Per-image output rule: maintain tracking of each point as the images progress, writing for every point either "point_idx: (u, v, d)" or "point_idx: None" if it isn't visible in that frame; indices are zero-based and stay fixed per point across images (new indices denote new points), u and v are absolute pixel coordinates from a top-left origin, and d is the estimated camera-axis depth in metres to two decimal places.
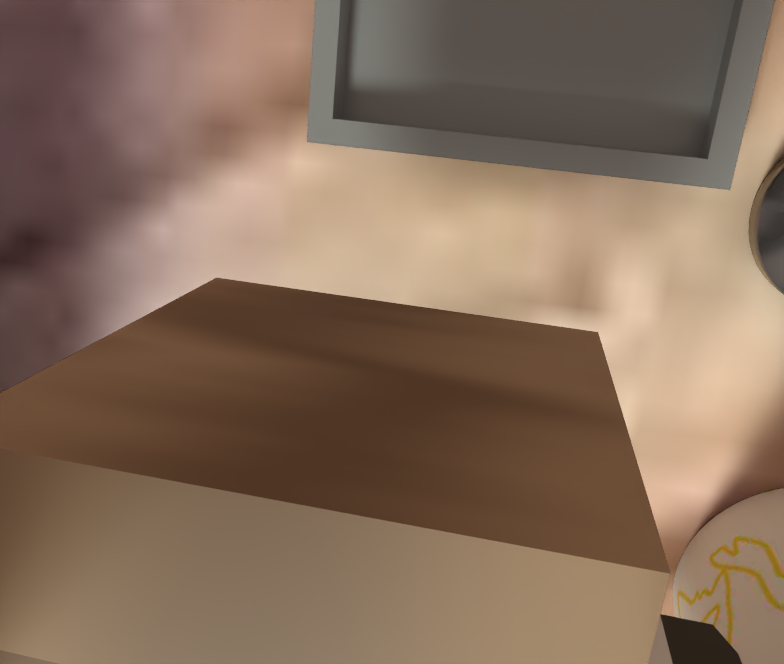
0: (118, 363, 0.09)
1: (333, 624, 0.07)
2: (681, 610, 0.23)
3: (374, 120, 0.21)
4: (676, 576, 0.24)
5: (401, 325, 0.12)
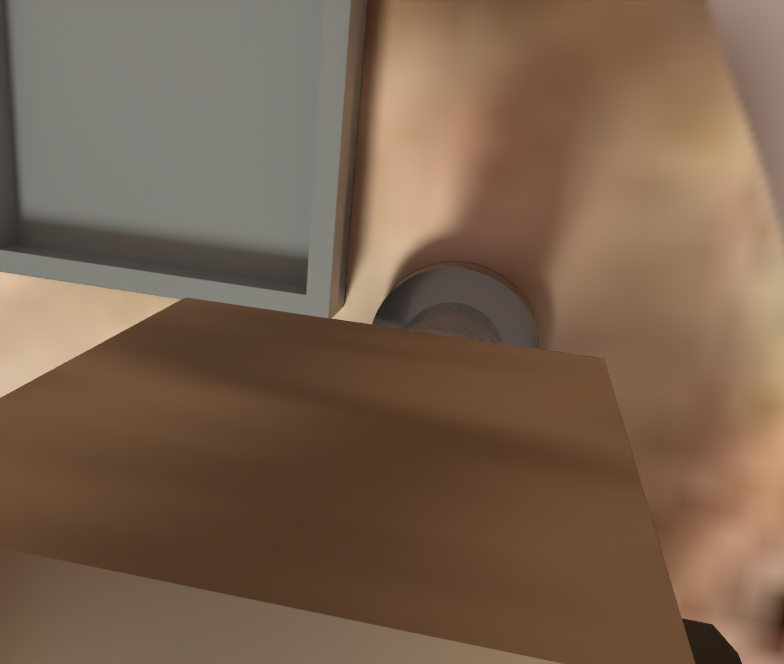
0: (56, 405, 0.08)
1: None
2: None
3: (45, 246, 0.23)
4: None
5: (386, 353, 0.11)
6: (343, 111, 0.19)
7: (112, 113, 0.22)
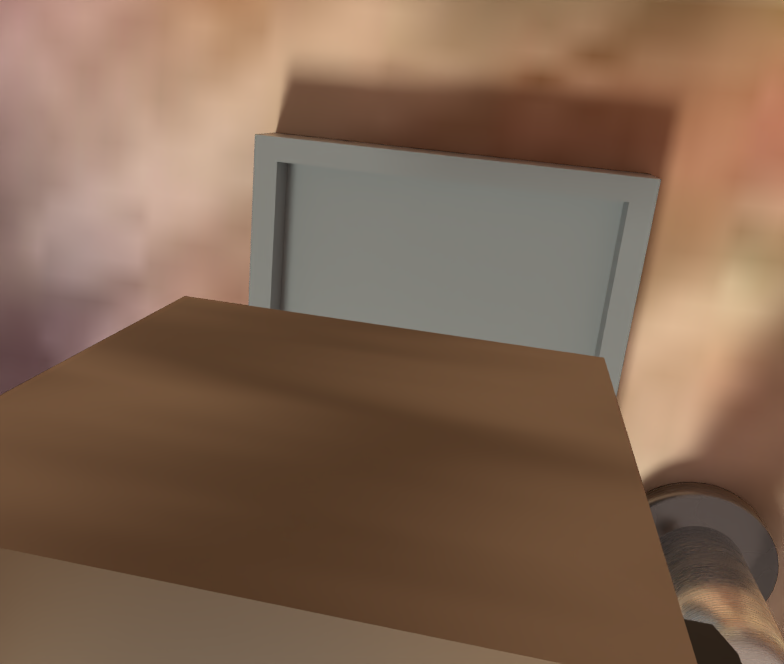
0: (55, 403, 0.08)
1: None
2: None
3: None
4: None
5: (386, 351, 0.11)
6: None
7: None
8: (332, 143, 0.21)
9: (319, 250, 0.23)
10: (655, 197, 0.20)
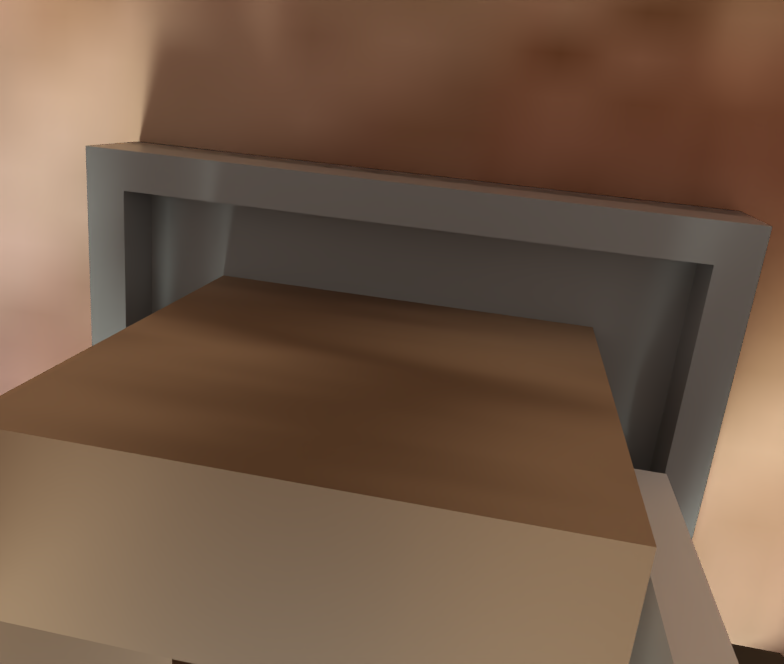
0: (133, 355, 0.10)
1: (341, 598, 0.07)
2: None
3: None
4: None
5: (402, 320, 0.12)
6: (691, 537, 0.13)
7: None
8: (211, 161, 0.12)
9: None
10: (761, 257, 0.11)
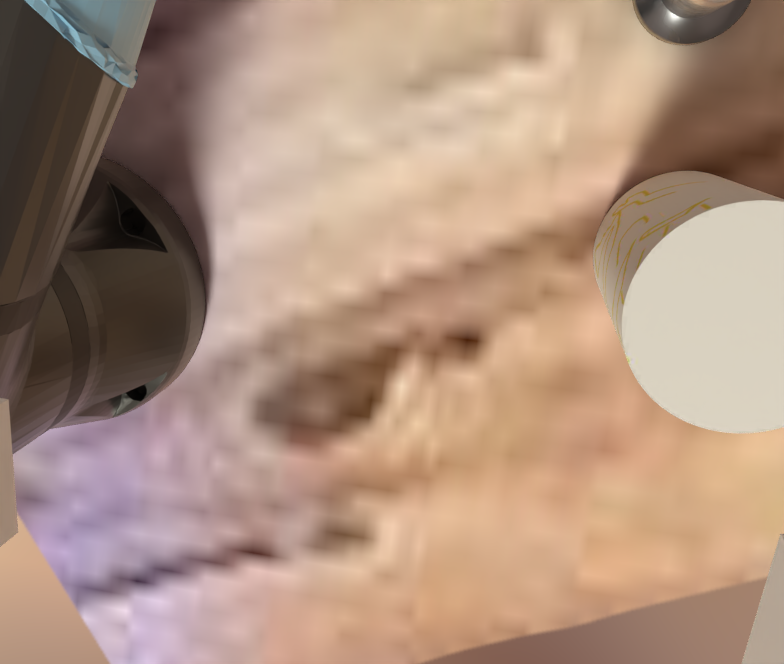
0: None
1: None
2: (596, 256, 0.35)
3: None
4: (594, 244, 0.36)
5: None
6: None
7: None
8: None
9: None
10: None
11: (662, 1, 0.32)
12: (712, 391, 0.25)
